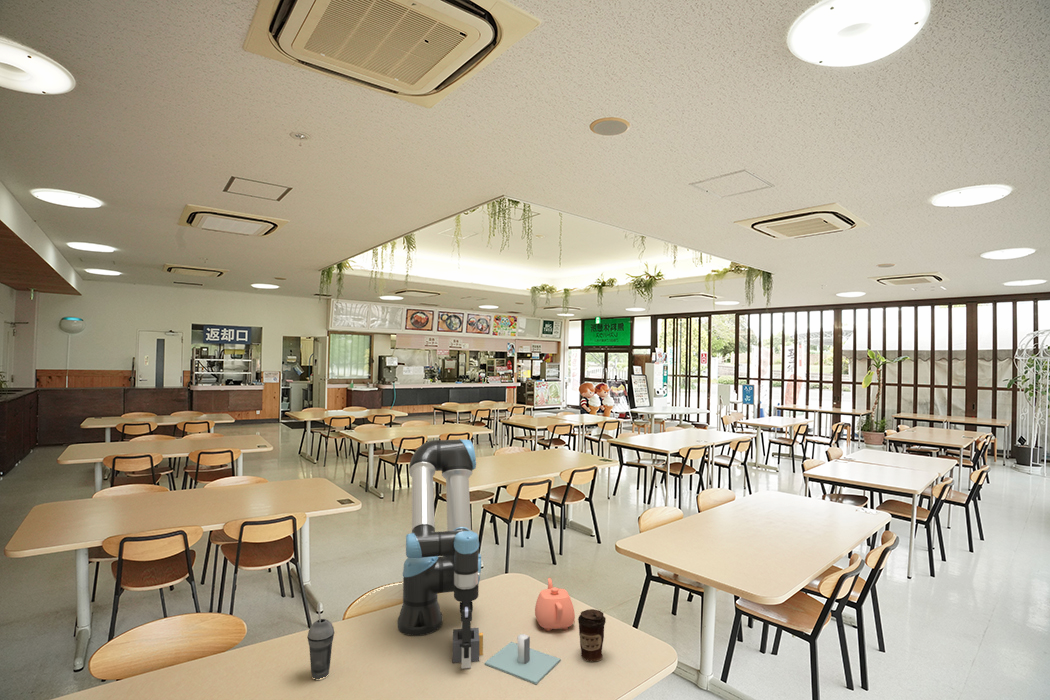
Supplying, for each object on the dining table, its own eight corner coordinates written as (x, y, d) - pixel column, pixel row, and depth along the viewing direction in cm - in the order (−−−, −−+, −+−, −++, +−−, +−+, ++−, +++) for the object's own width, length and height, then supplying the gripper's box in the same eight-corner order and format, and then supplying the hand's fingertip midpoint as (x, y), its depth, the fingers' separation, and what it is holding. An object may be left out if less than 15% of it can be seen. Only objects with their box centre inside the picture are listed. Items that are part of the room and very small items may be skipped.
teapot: (566, 608, 190) (566, 575, 191) (580, 636, 170) (580, 599, 171) (530, 611, 188) (530, 577, 189) (540, 639, 168) (540, 601, 169)
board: (484, 664, 154) (484, 638, 155) (511, 643, 166) (511, 619, 166) (536, 684, 145) (536, 656, 145) (560, 660, 156) (560, 635, 157)
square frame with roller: (452, 663, 155) (452, 642, 155) (452, 648, 163) (452, 629, 163) (483, 661, 156) (483, 640, 156) (482, 646, 164) (482, 627, 164)
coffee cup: (605, 666, 153) (604, 621, 154) (576, 663, 155) (576, 619, 155) (606, 651, 162) (606, 608, 162) (579, 648, 163) (579, 606, 164)
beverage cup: (317, 686, 144) (318, 612, 144) (301, 678, 147) (302, 606, 148) (339, 673, 150) (340, 602, 150) (323, 665, 154) (324, 596, 154)
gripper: (480, 601, 148) (479, 677, 147) (477, 568, 173) (476, 633, 172) (453, 603, 147) (453, 679, 146) (454, 569, 172) (453, 635, 171)
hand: (465, 655), depth 159 cm, fingers open, 13 cm apart
